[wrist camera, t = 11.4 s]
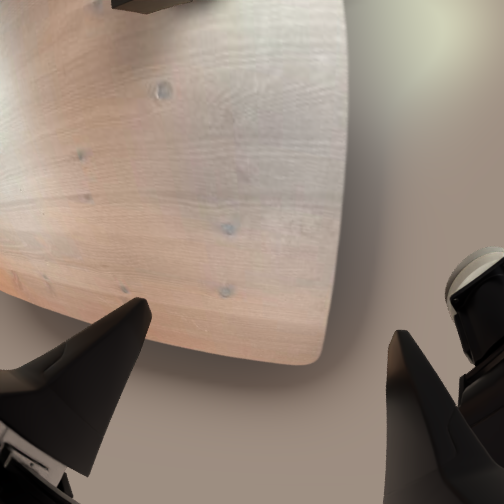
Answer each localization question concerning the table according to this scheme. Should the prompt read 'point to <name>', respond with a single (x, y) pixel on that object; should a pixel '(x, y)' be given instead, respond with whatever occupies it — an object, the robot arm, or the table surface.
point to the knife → (145, 5)
